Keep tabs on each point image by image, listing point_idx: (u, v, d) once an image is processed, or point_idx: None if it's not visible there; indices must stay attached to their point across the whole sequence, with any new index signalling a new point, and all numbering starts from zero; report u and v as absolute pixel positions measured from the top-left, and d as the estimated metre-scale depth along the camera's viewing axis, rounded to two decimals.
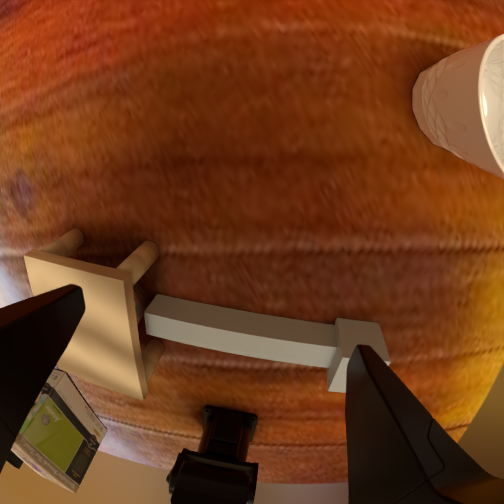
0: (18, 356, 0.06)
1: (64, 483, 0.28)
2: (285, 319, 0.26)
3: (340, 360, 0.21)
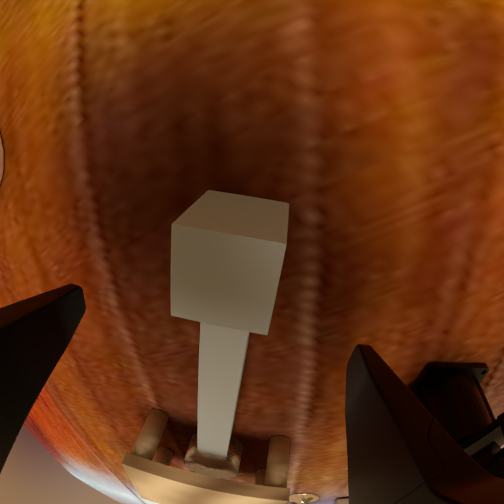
0: (18, 356, 0.06)
1: None
2: None
3: None
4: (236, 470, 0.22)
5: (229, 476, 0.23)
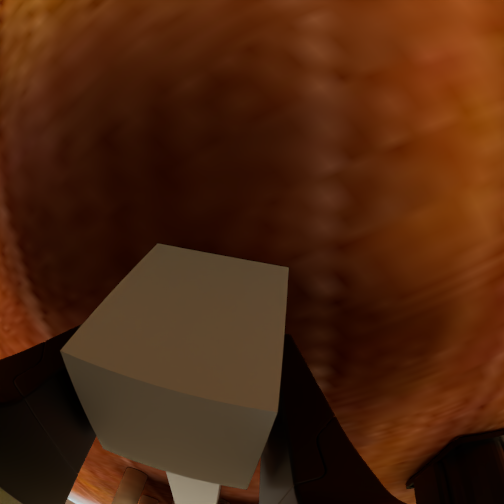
0: None
1: None
2: None
3: None
4: None
5: None
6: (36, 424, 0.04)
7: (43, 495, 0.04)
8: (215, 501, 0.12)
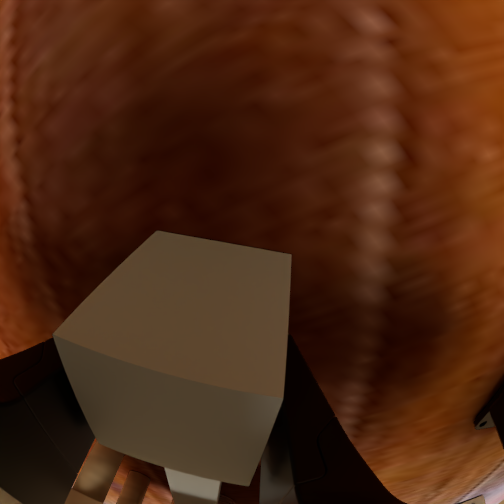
0: None
1: None
2: None
3: None
4: None
5: None
6: (36, 424, 0.04)
7: (43, 495, 0.04)
8: (215, 500, 0.11)
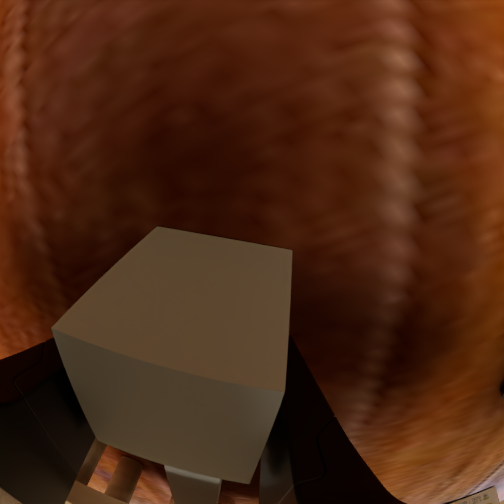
0: None
1: None
2: None
3: None
4: None
5: None
6: (36, 424, 0.04)
7: (43, 495, 0.04)
8: (215, 499, 0.11)
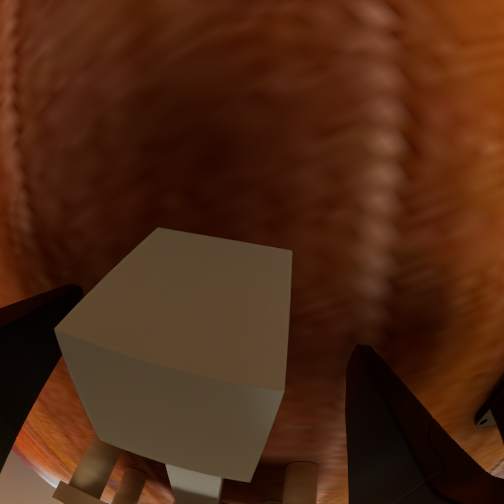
0: (18, 356, 0.06)
1: None
2: None
3: None
4: None
5: None
6: None
7: None
8: (216, 498, 0.11)
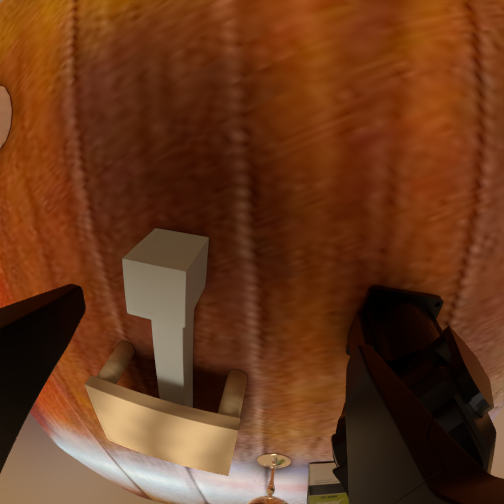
0: (18, 356, 0.06)
1: None
2: None
3: None
4: None
5: None
6: None
7: None
8: (182, 386, 0.24)
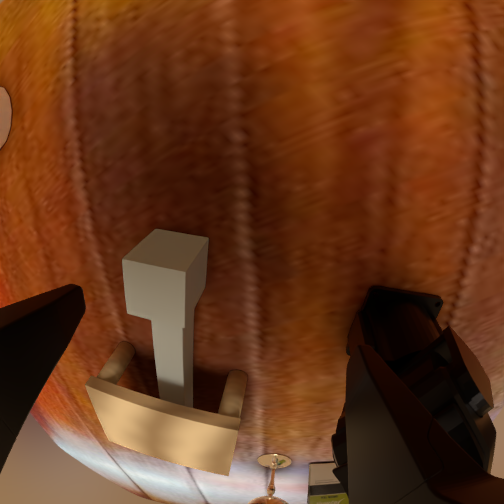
0: (18, 356, 0.06)
1: None
2: None
3: None
4: None
5: None
6: None
7: None
8: (183, 386, 0.24)
